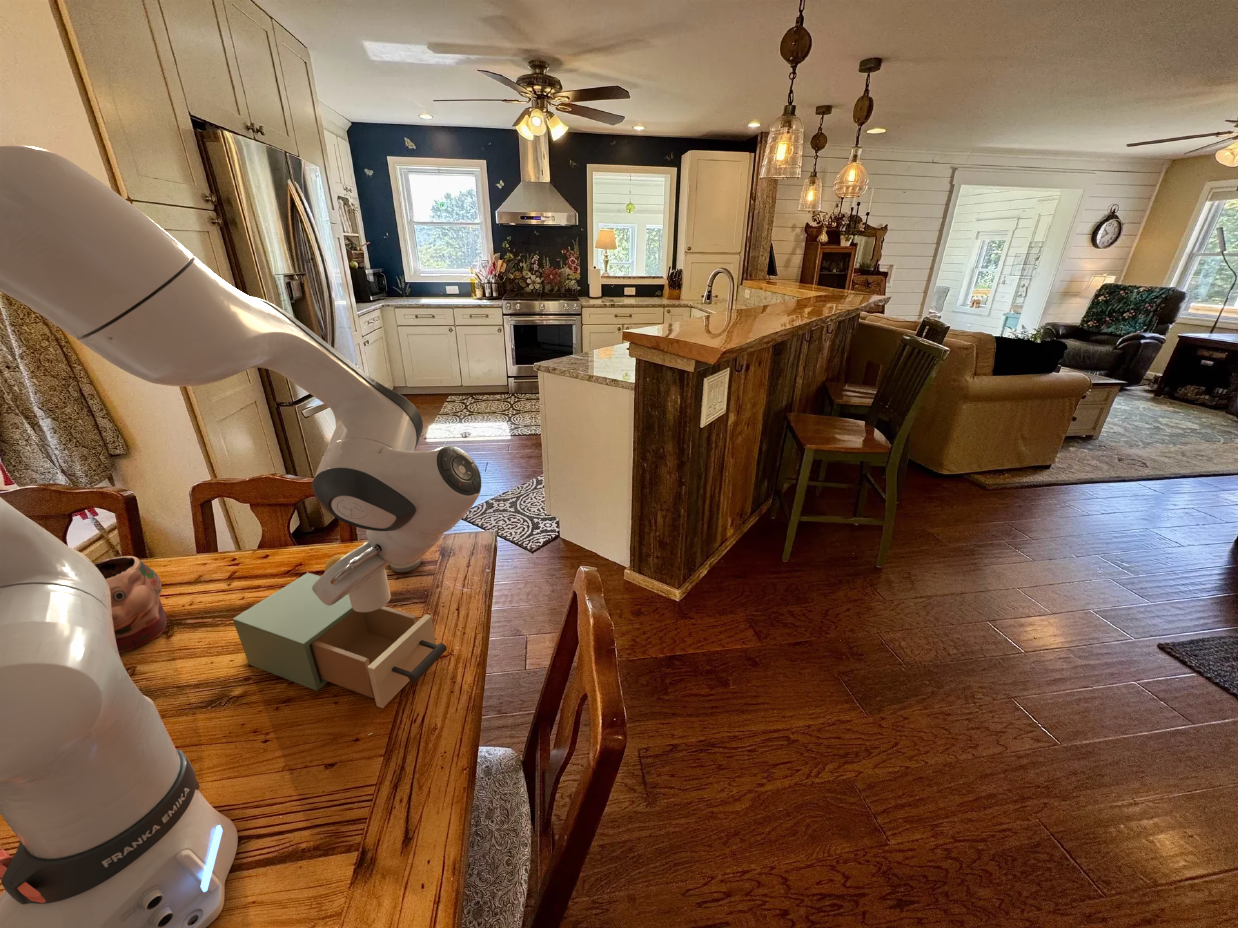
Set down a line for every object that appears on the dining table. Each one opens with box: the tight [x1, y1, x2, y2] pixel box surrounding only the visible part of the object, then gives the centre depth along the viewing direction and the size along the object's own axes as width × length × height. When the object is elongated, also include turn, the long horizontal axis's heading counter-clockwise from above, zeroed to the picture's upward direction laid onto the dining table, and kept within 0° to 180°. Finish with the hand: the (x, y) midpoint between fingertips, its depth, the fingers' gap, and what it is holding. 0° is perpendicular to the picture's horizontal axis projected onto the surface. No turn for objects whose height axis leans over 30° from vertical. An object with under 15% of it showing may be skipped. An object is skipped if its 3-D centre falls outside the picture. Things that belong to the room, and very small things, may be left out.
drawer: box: [309, 605, 448, 709], centre depth 79 cm, size 19×12×8 cm, turn 70°
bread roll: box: [324, 549, 355, 573], centre depth 107 cm, size 8×9×4 cm
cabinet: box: [232, 572, 354, 692], centre depth 84 cm, size 16×14×10 cm
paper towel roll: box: [347, 552, 392, 612], centre depth 76 cm, size 6×6×8 cm
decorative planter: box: [92, 555, 168, 653], centre depth 87 cm, size 20×12×14 cm, turn 49°
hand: (362, 573), depth 76 cm, fingers closed on paper towel roll, 5 cm apart
